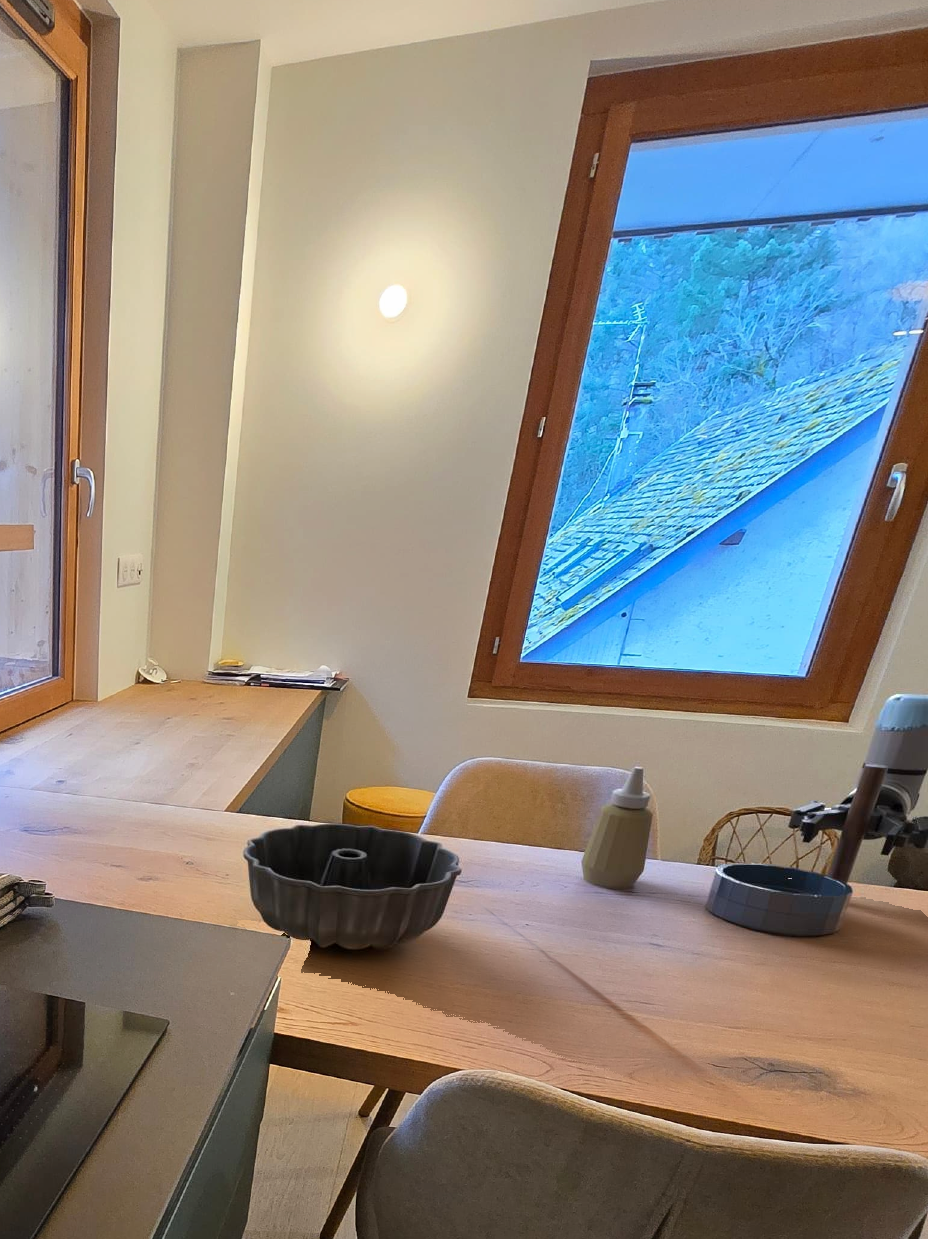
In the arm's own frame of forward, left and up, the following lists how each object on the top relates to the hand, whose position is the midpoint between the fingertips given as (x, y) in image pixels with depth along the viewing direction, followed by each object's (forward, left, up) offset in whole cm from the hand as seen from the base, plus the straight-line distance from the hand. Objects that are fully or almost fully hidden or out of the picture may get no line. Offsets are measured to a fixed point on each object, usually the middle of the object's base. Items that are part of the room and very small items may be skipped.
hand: (847, 838), depth 126 cm
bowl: (-2, +8, -11) cm, 14 cm away
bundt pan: (-4, +67, -11) cm, 68 cm away
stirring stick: (+3, -4, -11) cm, 12 cm away
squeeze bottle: (+12, +22, -11) cm, 28 cm away
